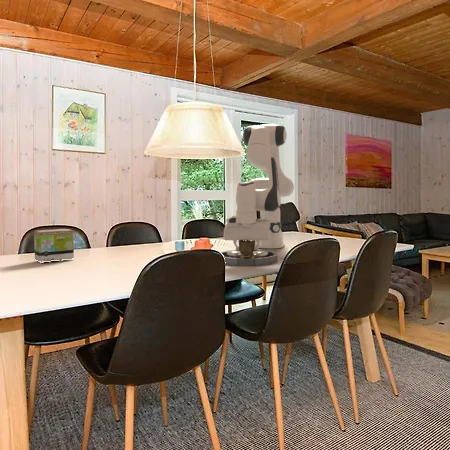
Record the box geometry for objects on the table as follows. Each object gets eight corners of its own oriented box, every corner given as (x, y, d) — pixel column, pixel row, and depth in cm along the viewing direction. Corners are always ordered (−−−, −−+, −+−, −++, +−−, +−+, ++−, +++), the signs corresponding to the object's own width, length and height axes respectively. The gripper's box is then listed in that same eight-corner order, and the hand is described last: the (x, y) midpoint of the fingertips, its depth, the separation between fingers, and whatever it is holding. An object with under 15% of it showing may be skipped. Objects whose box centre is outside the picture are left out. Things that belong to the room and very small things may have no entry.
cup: (253, 260, 169) (254, 242, 169) (236, 259, 171) (237, 240, 170) (255, 257, 177) (256, 239, 176) (239, 256, 178) (240, 238, 177)
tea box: (41, 264, 178) (39, 231, 176) (34, 261, 185) (33, 230, 184) (74, 260, 188) (73, 229, 186) (67, 257, 195) (65, 228, 194)
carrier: (208, 258, 187) (208, 246, 187) (258, 254, 199) (258, 242, 198) (233, 268, 163) (233, 254, 163) (288, 262, 174) (288, 249, 174)
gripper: (270, 218, 175) (270, 249, 176) (224, 218, 176) (224, 249, 177) (270, 219, 168) (270, 251, 169) (222, 219, 170) (223, 251, 171)
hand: (246, 250), depth 173 cm, fingers closed on cup, 6 cm apart
